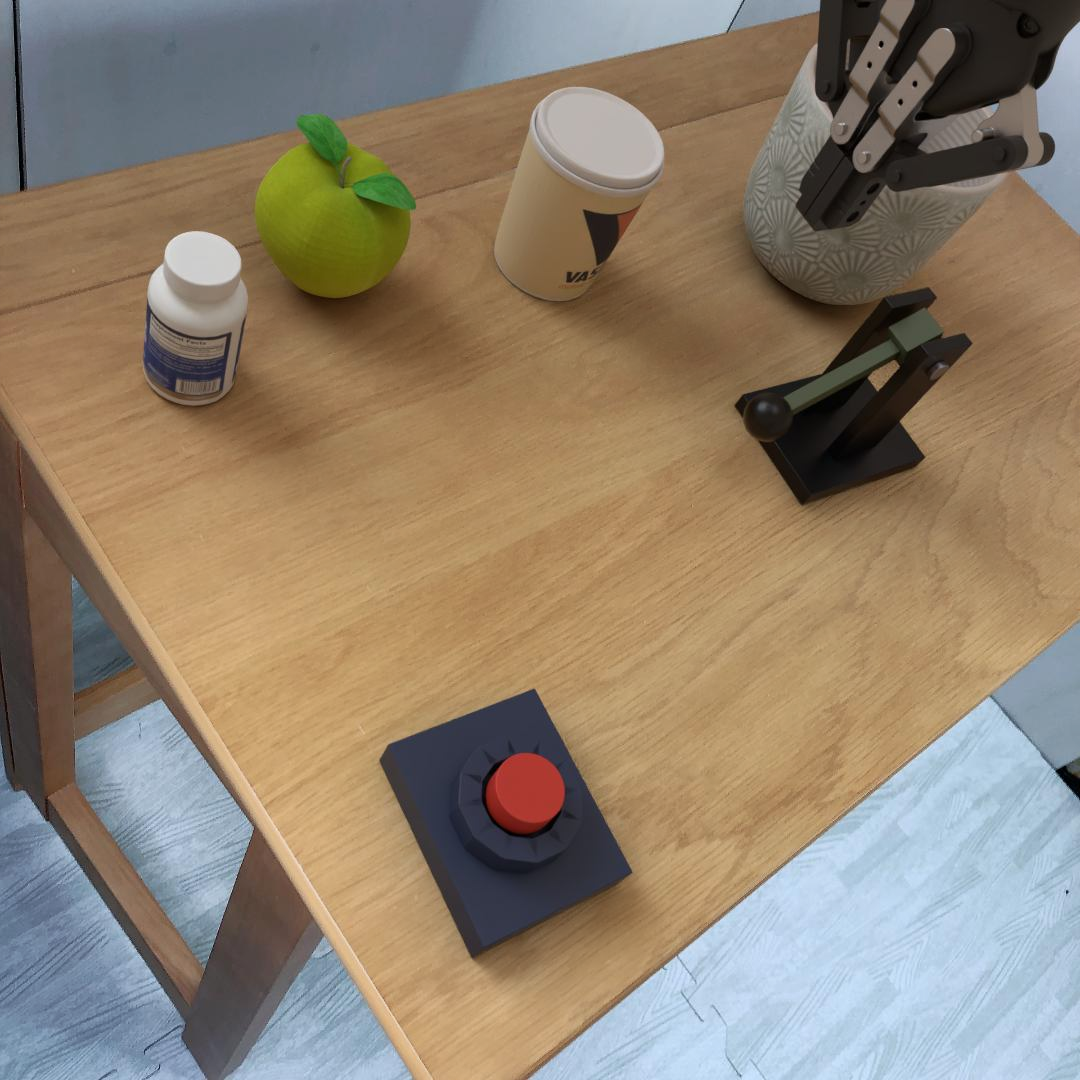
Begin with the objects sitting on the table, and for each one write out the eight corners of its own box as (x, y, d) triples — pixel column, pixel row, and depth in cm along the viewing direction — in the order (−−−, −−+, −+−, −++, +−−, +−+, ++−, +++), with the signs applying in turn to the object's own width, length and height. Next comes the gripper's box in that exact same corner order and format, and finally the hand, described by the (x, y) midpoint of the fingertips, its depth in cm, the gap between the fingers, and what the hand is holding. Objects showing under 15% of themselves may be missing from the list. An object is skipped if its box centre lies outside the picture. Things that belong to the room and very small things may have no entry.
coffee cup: (561, 331, 82) (626, 204, 72) (457, 253, 82) (508, 117, 73) (624, 270, 87) (692, 144, 78) (526, 198, 88) (581, 64, 78)
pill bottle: (178, 324, 71) (190, 205, 63) (252, 370, 71) (274, 257, 63) (122, 376, 68) (128, 257, 60) (200, 424, 68) (216, 311, 60)
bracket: (801, 505, 80) (907, 391, 70) (734, 405, 83) (825, 281, 73) (916, 467, 86) (1028, 356, 76) (849, 374, 89) (948, 256, 79)
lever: (758, 457, 76) (760, 438, 74) (733, 420, 78) (734, 399, 75) (940, 358, 77) (950, 334, 74) (913, 322, 78) (921, 297, 75)
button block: (617, 884, 61) (647, 861, 58) (471, 958, 56) (495, 938, 53) (522, 704, 65) (545, 673, 62) (378, 760, 60) (395, 730, 57)
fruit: (321, 206, 80) (349, 86, 72) (414, 293, 79) (453, 181, 71) (217, 254, 75) (235, 131, 67) (315, 348, 73) (345, 234, 66)
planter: (684, 179, 96) (772, 18, 84) (848, 192, 103) (951, 44, 91) (756, 337, 88) (864, 185, 76) (927, 339, 95) (1051, 200, 83)
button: (565, 818, 58) (578, 806, 57) (505, 846, 56) (516, 834, 55) (532, 755, 59) (544, 742, 58) (473, 780, 58) (483, 767, 56)
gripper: (897, -298, 38) (679, 122, 52) (1154, -42, 34) (841, 344, 48) (1035, -275, 42) (798, 111, 56) (1283, -42, 38) (958, 316, 51)
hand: (818, 218), depth 52 cm, fingers closed
